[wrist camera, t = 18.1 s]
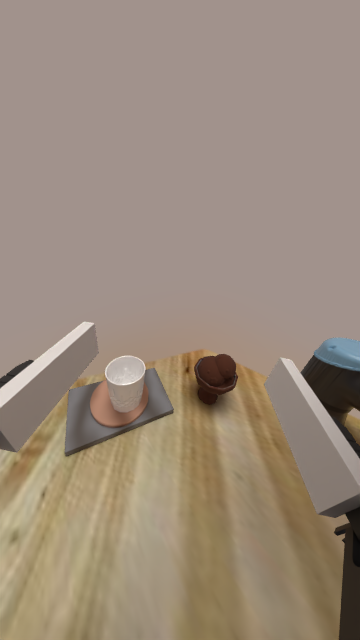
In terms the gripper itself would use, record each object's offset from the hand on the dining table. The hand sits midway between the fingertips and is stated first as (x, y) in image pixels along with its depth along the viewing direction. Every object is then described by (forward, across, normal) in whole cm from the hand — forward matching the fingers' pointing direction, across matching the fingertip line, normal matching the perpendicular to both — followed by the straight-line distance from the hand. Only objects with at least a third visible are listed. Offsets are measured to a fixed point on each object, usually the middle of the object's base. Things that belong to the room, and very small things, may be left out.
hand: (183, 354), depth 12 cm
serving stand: (+15, -12, -32) cm, 37 cm away
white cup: (+14, -10, -29) cm, 34 cm away
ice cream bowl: (+22, +10, -32) cm, 40 cm away
